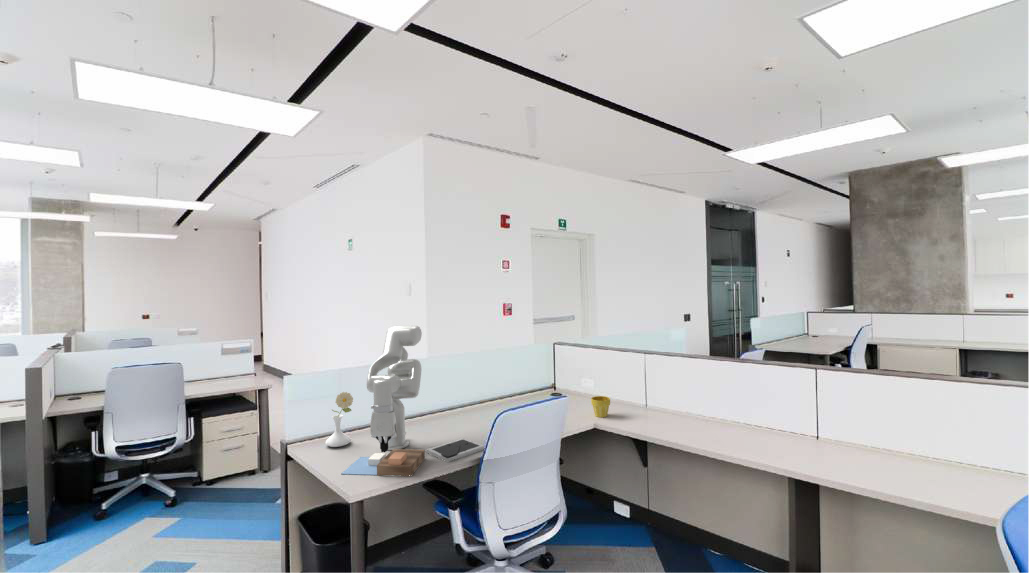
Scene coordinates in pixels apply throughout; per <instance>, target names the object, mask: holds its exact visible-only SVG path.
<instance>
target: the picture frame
mask: <svg viewBox="0 0 1029 573" xmlns="http://www.w3.org/2000/svg"><path fill="white" fill-rule="evenodd" d="M484 446H485V445H484V444H482V443H479V442H476V441H473V440H470V439H468V438H465V437H461V438H459V439H455V440H452V441H450V442H445V443H442V444H439V445H436V446H433V447H429V448H427V449H426V454H428V453H429V454H428V455H430V454H431V455H430V456H433V457H435V456H436V457H435V458H437V457H438V458H437V459H439V458H440V459H439V460H442V459H443V460H442V461H444V460H445V461H444V462H446V461H450V462H452V461H451V460H453V461H454V459H455V460H457V458H458V459H461V458H463V457H466V455H467V456H469V455H470V456H471V455H472V454H475V453H478V452H480V451H483V449H484ZM484 450H485V449H484ZM460 457H461V458H460Z"/></svg>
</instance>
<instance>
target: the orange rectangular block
mask: <svg viewBox="0 0 1029 573" xmlns="http://www.w3.org/2000/svg"><path fill="white" fill-rule="evenodd" d="M406 458H407V452H394V453H393V454H392V455H391V456H390V457H389V458H388V462H389V465H401V464H402V463H403V462H404V461H405V460H406Z"/></svg>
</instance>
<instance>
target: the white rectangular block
mask: <svg viewBox="0 0 1029 573" xmlns="http://www.w3.org/2000/svg"><path fill="white" fill-rule="evenodd" d="M386 454H387V453H386V452H374V453H373V454H371V455H370V456H369V457H370V458H369V459H368V465H378V464H379V463H380V462H381V461H382V460H383V459H384V458H385V457H386V456H387V455H386Z"/></svg>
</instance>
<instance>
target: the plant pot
mask: <svg viewBox="0 0 1029 573" xmlns="http://www.w3.org/2000/svg"><path fill="white" fill-rule="evenodd" d="M590 403H591V406H592V409H593V413H594V417H596V418H606V417H608V414H609V407H610V406H611V398H610V397H608V396H606V395H605V396H604V395H597V396H596V395H595V396H592V397H591V399H590Z"/></svg>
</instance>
